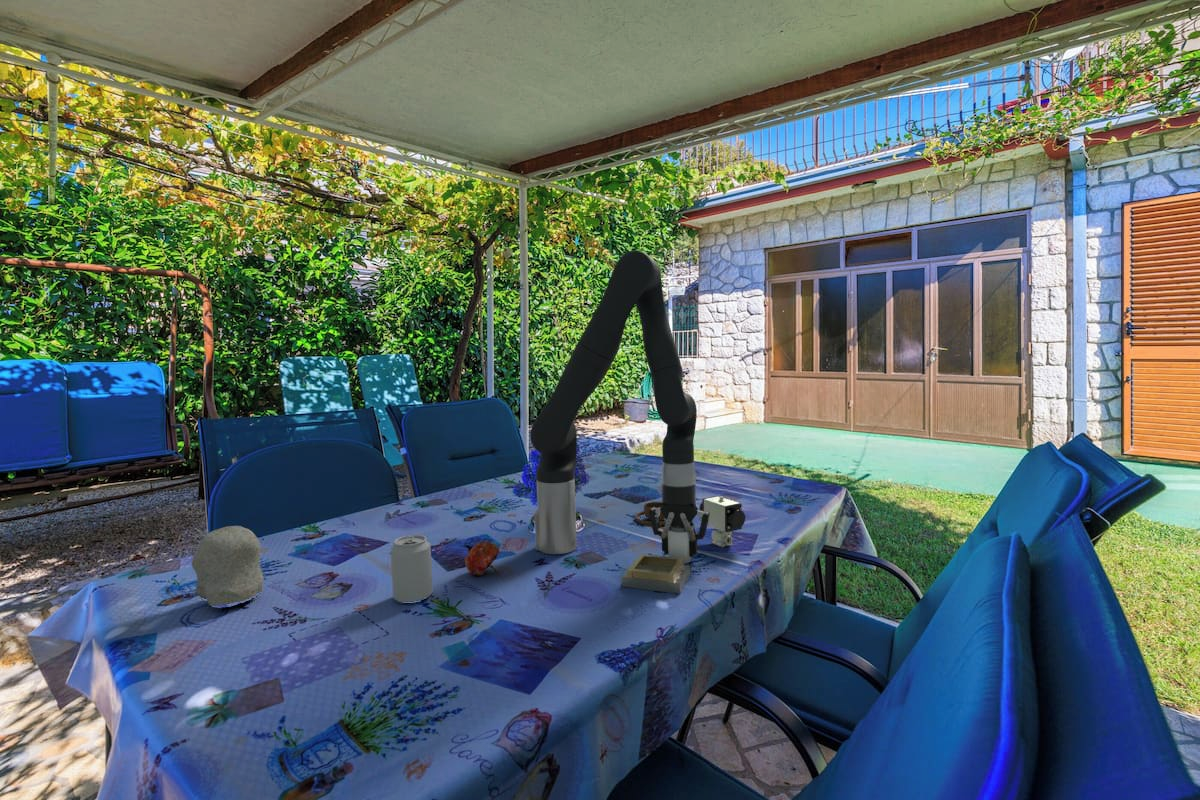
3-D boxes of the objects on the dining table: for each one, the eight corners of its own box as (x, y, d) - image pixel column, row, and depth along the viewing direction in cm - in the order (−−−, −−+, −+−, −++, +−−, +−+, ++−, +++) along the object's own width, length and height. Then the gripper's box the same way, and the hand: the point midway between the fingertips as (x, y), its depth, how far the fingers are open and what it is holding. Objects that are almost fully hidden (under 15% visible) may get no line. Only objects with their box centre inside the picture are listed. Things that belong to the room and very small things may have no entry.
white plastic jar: (665, 562, 127) (665, 528, 127) (671, 554, 132) (670, 522, 132) (688, 564, 126) (688, 530, 125) (693, 556, 130) (692, 523, 130)
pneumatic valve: (731, 553, 132) (730, 503, 131) (698, 539, 142) (698, 493, 141) (748, 549, 135) (748, 499, 134) (715, 535, 145) (715, 489, 144)
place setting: (626, 515, 167) (626, 495, 167) (688, 508, 172) (688, 489, 172) (647, 533, 150) (646, 511, 150) (715, 525, 155) (715, 504, 155)
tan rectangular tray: (621, 586, 115) (621, 569, 115) (635, 568, 124) (635, 553, 124) (680, 593, 111) (679, 576, 110) (690, 574, 120) (689, 558, 120)
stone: (272, 598, 114) (267, 525, 112) (213, 621, 104) (206, 541, 103) (242, 587, 119) (236, 518, 118) (183, 608, 110) (177, 533, 109)
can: (391, 608, 108) (388, 547, 107) (394, 592, 115) (391, 535, 114) (432, 603, 110) (429, 542, 109) (433, 587, 117) (430, 531, 116)
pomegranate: (502, 577, 127) (470, 548, 129) (517, 555, 125) (484, 525, 126) (483, 593, 121) (450, 562, 123) (498, 571, 118) (464, 539, 120)
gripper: (643, 483, 126) (644, 557, 128) (707, 487, 121) (708, 563, 123) (651, 476, 133) (653, 546, 135) (713, 479, 128) (713, 552, 130)
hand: (679, 554), depth 129 cm, fingers closed on white plastic jar, 5 cm apart
